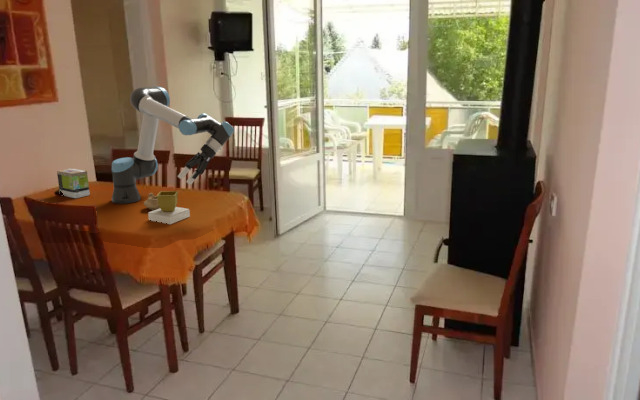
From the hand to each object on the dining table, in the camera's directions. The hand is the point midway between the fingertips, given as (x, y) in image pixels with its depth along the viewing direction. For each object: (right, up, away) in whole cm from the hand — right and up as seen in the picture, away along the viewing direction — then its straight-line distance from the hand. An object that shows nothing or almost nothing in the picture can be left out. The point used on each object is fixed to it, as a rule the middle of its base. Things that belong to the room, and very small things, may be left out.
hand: (183, 180), depth 252 cm
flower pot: (-8, -15, 0) cm, 17 cm away
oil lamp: (-18, -15, +16) cm, 29 cm away
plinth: (-7, -19, +1) cm, 20 cm away
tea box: (-75, -7, +43) cm, 87 cm away
